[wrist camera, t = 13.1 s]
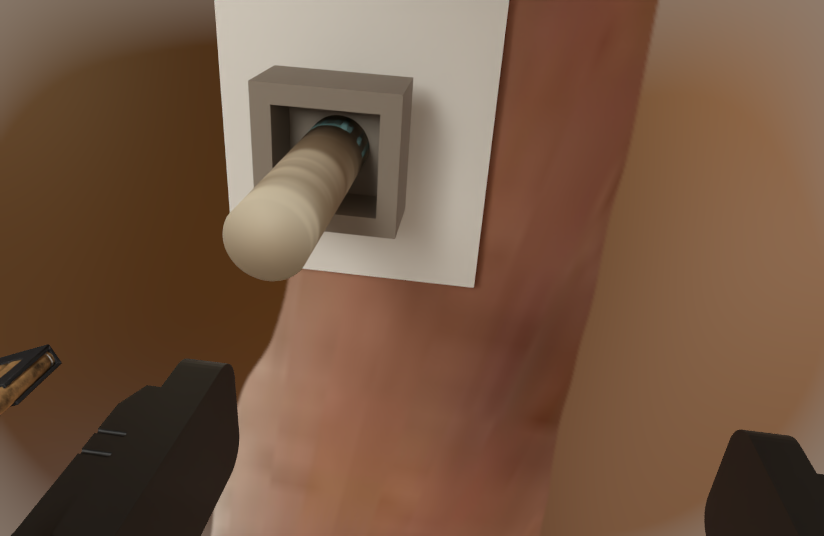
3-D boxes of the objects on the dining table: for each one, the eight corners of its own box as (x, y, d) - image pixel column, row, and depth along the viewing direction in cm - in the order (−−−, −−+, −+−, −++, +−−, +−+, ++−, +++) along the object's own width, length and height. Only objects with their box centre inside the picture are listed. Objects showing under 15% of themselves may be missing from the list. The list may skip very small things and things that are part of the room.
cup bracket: (219, -80, 35) (137, -84, 27) (515, -59, 34) (520, -57, 26) (241, 250, 44) (185, 320, 36) (474, 277, 43) (469, 354, 35)
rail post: (308, 112, 33) (219, 195, 23) (370, 117, 33) (309, 204, 22) (309, 171, 35) (225, 276, 24) (368, 177, 34) (310, 285, 24)
